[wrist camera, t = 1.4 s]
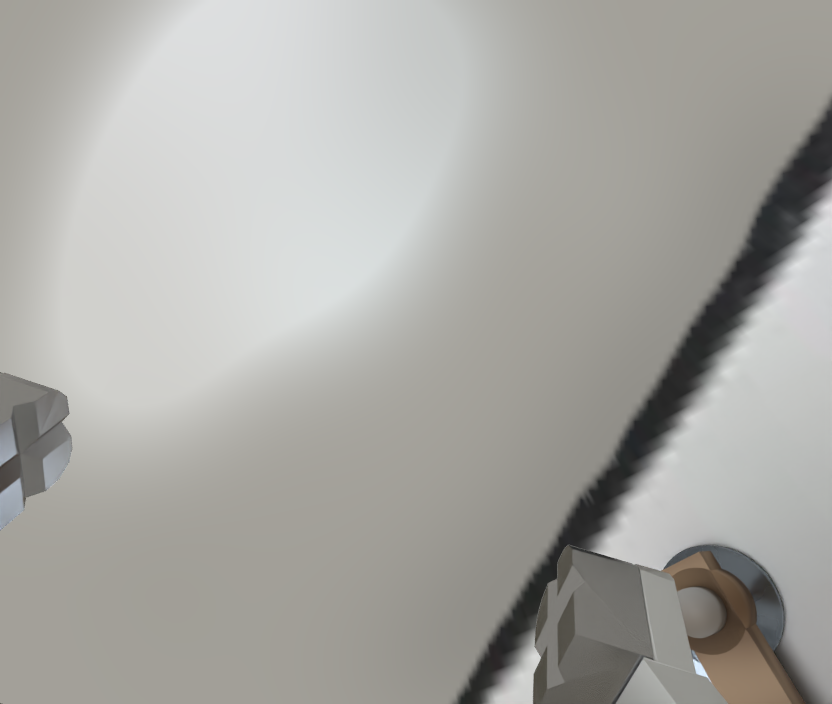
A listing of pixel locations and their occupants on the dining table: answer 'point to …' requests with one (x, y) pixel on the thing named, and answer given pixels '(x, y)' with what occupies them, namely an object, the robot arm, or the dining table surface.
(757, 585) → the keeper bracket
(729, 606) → the walnut link
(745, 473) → the dining table surface
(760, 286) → the dining table surface
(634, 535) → the dining table surface
